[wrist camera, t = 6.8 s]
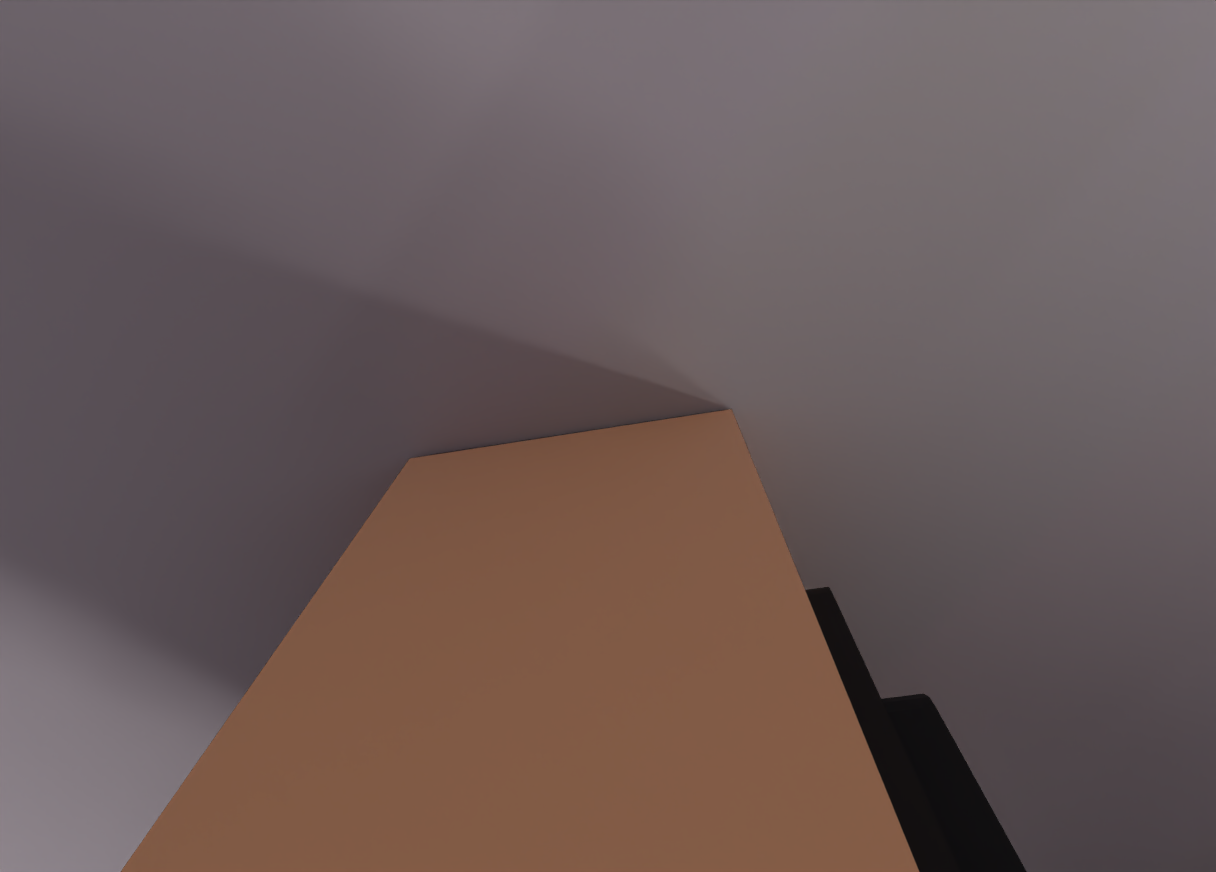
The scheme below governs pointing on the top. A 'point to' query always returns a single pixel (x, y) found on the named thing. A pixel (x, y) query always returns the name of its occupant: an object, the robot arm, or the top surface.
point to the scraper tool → (549, 684)
